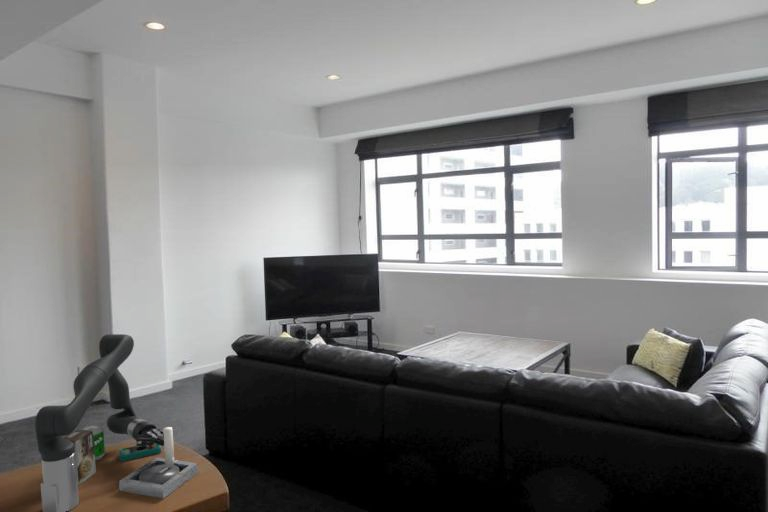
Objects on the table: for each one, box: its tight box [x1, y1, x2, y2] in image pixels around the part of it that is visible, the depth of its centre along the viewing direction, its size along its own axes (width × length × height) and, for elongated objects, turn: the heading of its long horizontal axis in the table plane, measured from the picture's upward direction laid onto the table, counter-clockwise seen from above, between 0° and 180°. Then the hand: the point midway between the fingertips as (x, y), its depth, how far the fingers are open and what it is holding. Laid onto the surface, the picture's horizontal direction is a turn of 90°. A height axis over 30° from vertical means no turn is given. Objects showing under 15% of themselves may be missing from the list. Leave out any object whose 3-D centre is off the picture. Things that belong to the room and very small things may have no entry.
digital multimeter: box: [118, 444, 162, 462], centre depth 210 cm, size 7×15×3 cm, turn 120°
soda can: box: [82, 424, 106, 462], centre depth 207 cm, size 8×8×12 cm
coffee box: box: [63, 429, 97, 486], centre depth 191 cm, size 9×6×16 cm
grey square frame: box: [118, 457, 199, 499], centre depth 188 cm, size 18×18×4 cm
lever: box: [139, 426, 180, 485], centre depth 187 cm, size 13×13×16 cm
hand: (165, 442), depth 194 cm, fingers closed
